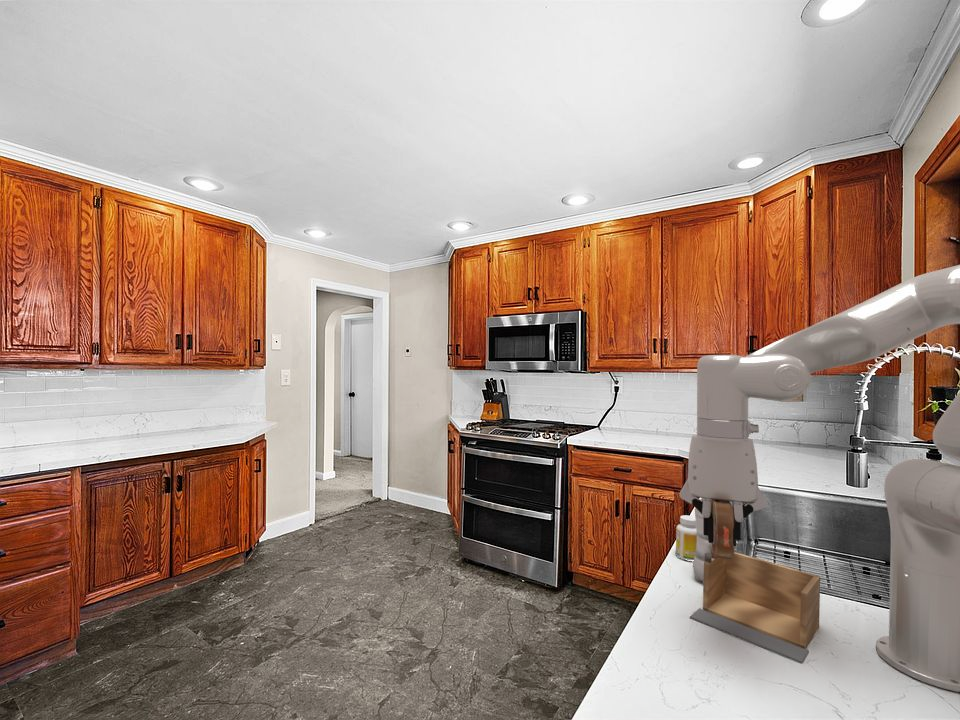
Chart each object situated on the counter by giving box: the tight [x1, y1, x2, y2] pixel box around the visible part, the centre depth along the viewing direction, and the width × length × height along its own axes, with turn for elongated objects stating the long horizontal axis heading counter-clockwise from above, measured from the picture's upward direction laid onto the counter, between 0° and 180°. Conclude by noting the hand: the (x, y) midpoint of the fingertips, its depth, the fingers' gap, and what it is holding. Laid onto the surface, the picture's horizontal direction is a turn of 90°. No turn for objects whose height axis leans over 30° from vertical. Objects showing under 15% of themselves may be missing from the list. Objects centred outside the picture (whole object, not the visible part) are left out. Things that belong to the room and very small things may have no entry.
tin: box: [711, 499, 735, 559], centre depth 76 cm, size 15×3×8 cm, turn 156°
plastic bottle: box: [692, 498, 712, 583], centre depth 99 cm, size 6×7×20 cm
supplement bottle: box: [675, 514, 697, 560], centre depth 112 cm, size 5×5×10 cm
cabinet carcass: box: [702, 549, 821, 650], centre depth 85 cm, size 16×10×10 cm, turn 44°
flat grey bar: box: [689, 608, 810, 664], centre depth 79 cm, size 17×4×1 cm, turn 44°
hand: (721, 540), depth 76 cm, fingers closed on tin, 2 cm apart
